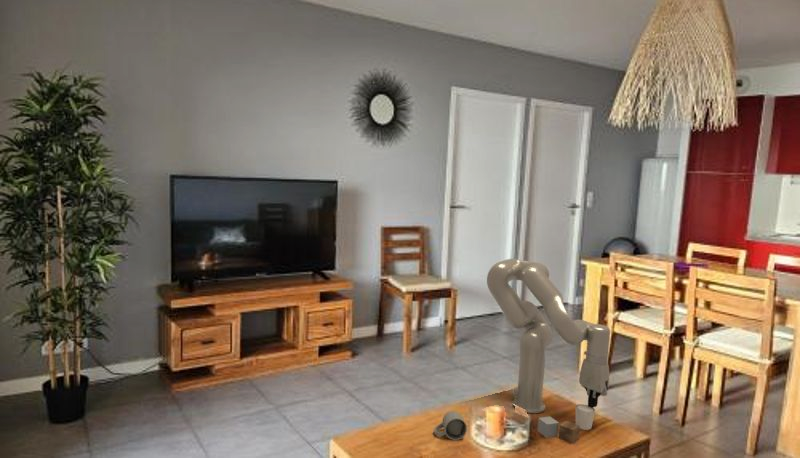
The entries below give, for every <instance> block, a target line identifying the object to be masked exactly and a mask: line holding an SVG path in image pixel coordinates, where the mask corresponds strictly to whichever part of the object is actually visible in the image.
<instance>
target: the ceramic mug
mask: <svg viewBox="0 0 800 458" xmlns="http://www.w3.org/2000/svg"><path fill="white" fill-rule="evenodd" d="M440 429H443V430H441V431H439V430H440ZM467 431H468V428H467V423H466V421H465V420H464V418H463V416H462V414H460V413H459V412H457V411H455V410H450V411H447V412H446V413H445V414H444V416H443V418H442V423H439V424H438V425H436V426H434V429H433V433H434V435H435V437H444V436H446V437H447V438H448V439H450V440H452V441H459V440H461V439H463V438H464V437H465V435H466V433H467Z"/></svg>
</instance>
